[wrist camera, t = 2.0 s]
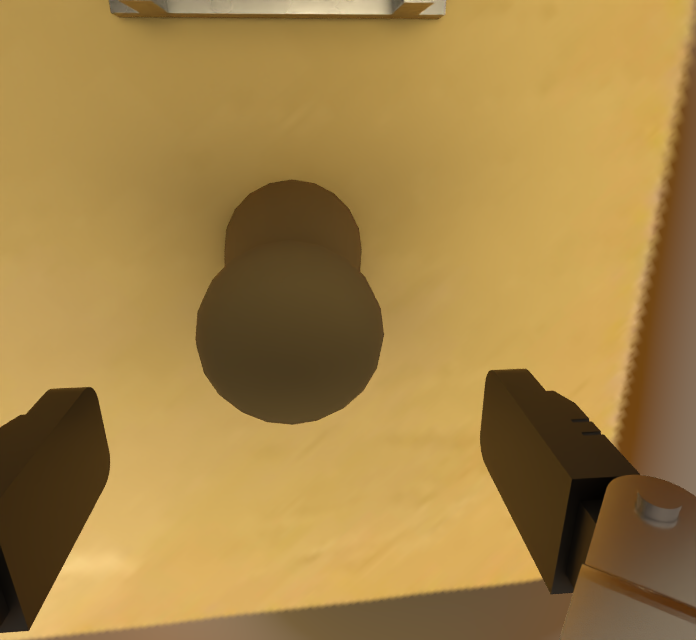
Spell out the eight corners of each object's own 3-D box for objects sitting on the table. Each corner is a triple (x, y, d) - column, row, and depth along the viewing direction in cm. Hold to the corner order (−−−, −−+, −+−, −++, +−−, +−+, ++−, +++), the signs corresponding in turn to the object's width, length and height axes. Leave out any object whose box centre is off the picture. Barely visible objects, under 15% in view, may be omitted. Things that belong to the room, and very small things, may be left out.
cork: (307, 150, 22) (315, 190, 12) (387, 263, 24) (452, 379, 14) (195, 235, 23) (112, 340, 13) (281, 336, 25) (270, 496, 15)
